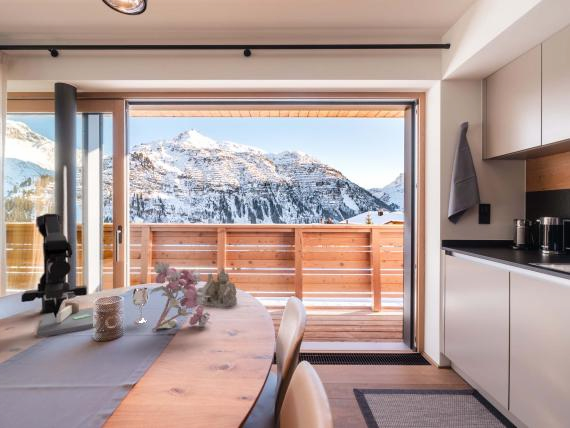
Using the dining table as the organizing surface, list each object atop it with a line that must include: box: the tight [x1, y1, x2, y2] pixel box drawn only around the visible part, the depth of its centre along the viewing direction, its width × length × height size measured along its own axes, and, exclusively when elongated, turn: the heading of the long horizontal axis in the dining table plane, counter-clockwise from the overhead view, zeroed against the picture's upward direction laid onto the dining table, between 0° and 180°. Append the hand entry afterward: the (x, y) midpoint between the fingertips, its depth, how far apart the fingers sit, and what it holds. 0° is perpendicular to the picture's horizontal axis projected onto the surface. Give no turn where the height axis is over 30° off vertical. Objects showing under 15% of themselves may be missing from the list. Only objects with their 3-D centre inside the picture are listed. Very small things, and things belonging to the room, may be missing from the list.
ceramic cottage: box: [202, 267, 238, 308], centre depth 140 cm, size 16×16×15 cm
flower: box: [149, 259, 211, 332], centre depth 110 cm, size 20×22×24 cm
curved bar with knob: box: [57, 300, 80, 323], centre depth 118 cm, size 15×4×4 cm, turn 17°
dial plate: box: [36, 307, 94, 338], centre depth 116 cm, size 22×16×2 cm
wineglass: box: [131, 287, 150, 324], centre depth 117 cm, size 6×6×12 cm
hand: (56, 317), depth 112 cm, fingers closed
